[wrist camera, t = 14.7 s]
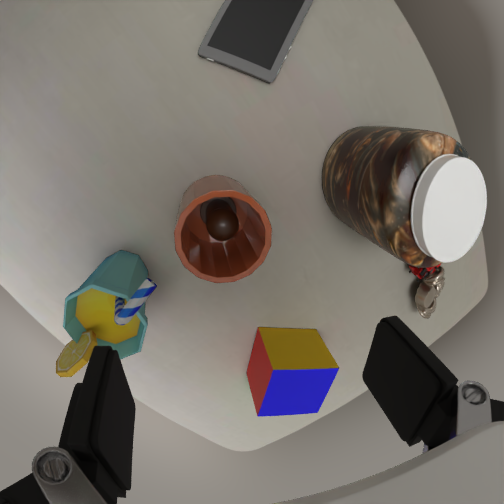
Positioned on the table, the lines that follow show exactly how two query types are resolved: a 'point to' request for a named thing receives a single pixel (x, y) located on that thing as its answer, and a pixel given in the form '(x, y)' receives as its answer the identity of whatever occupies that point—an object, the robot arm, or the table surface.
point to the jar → (406, 192)
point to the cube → (289, 371)
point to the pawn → (220, 218)
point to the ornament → (429, 292)
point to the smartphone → (254, 35)
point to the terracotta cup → (221, 252)
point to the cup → (106, 312)
